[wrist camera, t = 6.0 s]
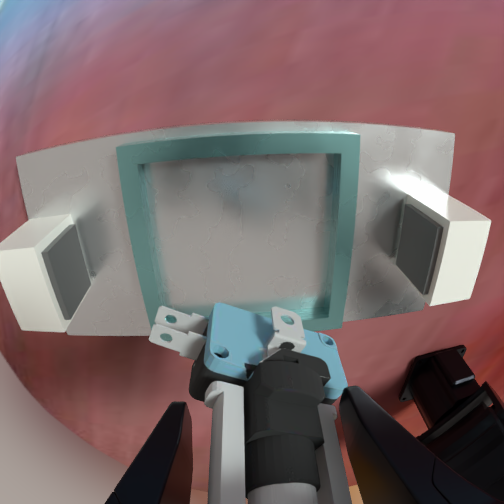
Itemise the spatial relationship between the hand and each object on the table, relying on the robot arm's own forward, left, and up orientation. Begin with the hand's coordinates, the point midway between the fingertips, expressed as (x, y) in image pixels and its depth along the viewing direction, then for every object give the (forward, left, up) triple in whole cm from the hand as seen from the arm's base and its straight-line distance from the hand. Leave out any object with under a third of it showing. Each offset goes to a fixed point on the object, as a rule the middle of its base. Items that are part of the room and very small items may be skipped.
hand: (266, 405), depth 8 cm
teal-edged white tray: (0, 0, -13) cm, 13 cm away
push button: (0, 0, -4) cm, 4 cm away
